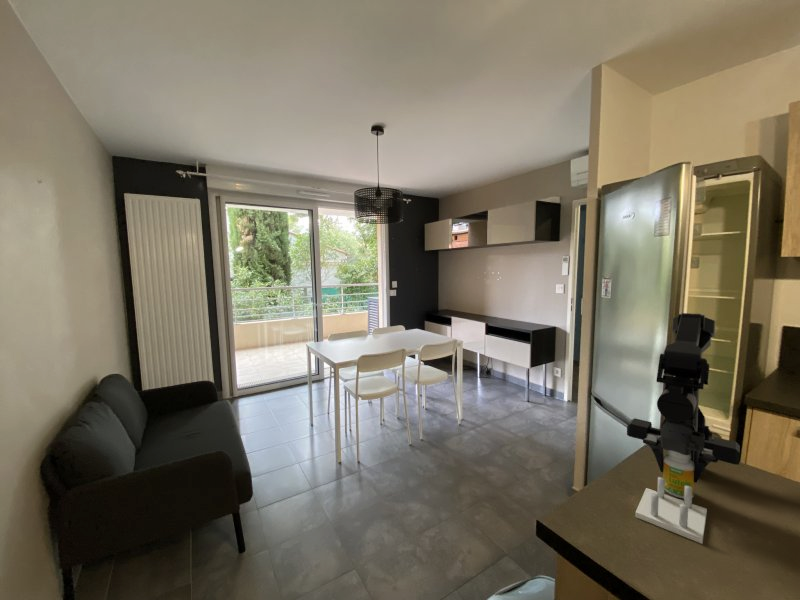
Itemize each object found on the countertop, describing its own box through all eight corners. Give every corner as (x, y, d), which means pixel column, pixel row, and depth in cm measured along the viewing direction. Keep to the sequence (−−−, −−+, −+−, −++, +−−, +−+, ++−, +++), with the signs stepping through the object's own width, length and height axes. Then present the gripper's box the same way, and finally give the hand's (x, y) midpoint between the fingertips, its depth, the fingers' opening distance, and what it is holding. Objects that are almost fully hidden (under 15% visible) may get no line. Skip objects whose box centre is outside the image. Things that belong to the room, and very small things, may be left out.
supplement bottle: (665, 495, 74) (666, 452, 74) (660, 482, 79) (661, 441, 78) (697, 502, 72) (699, 457, 71) (689, 488, 76) (691, 446, 76)
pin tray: (646, 492, 75) (646, 470, 75) (706, 513, 68) (707, 489, 68) (635, 516, 68) (635, 492, 67) (702, 543, 60) (703, 517, 60)
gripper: (621, 406, 75) (620, 474, 76) (741, 432, 62) (737, 514, 63) (633, 394, 83) (631, 456, 84) (741, 415, 70) (737, 488, 71)
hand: (678, 476), depth 75 cm, fingers closed on supplement bottle, 5 cm apart
